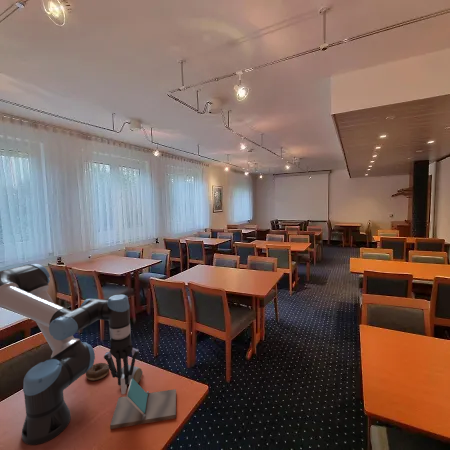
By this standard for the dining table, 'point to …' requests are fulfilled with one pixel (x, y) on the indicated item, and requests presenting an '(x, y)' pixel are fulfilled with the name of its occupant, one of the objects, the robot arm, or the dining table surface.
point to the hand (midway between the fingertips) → (124, 391)
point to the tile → (137, 396)
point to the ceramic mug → (134, 374)
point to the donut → (97, 371)
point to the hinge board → (155, 409)
